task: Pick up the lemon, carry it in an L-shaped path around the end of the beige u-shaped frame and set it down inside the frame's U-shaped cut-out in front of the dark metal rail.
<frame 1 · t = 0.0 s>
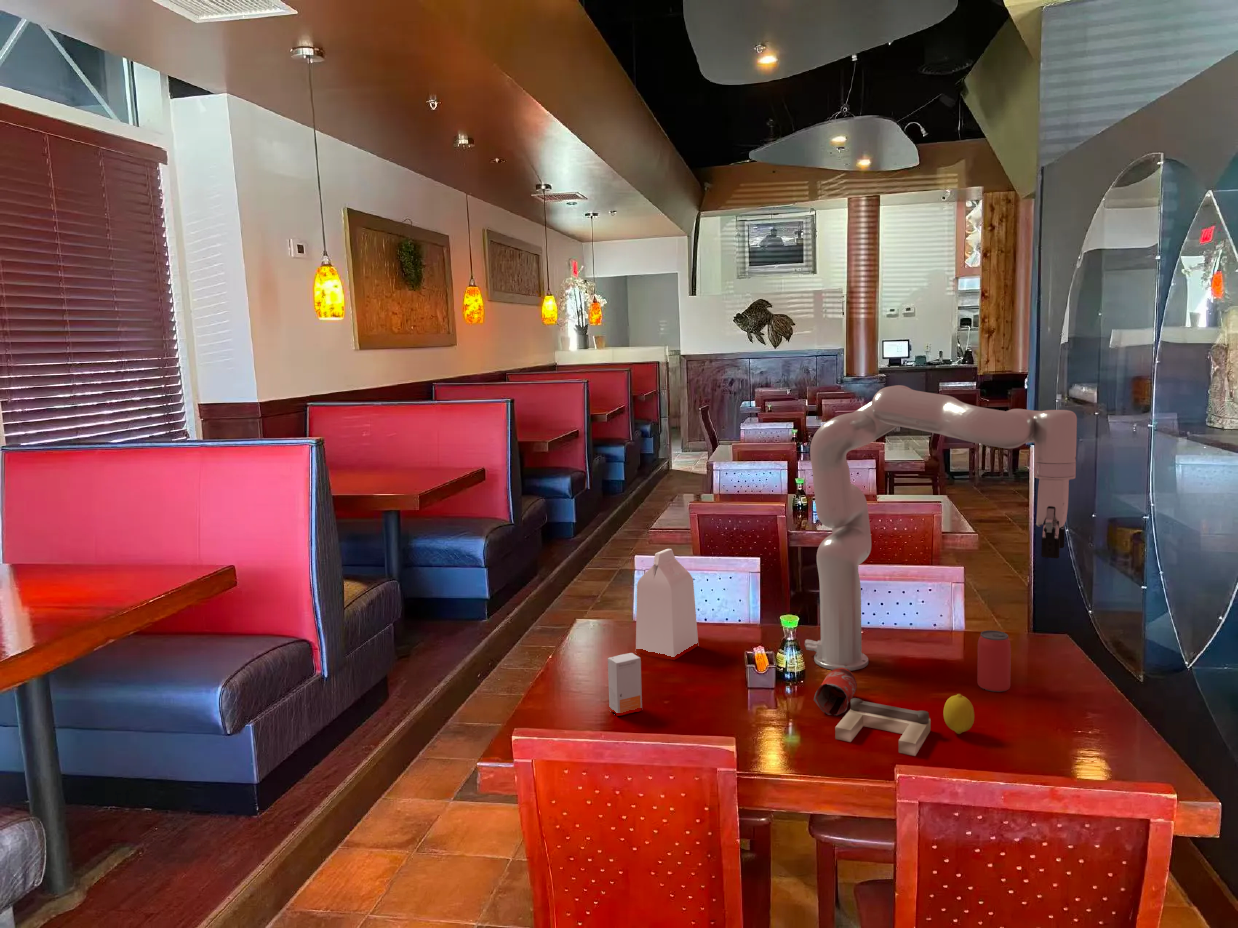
hand: (1052, 552, 172), 31 cm above the table, tool pointing down, fingers open, 9 cm apart
skincare box: (626, 712, 178), on the table
milk: (667, 650, 215), on the table
beige u-shaped frame: (883, 734, 162), on the table
lemon: (958, 734, 161), on the table
beverage can: (837, 705, 177), on the table
beer can: (993, 688, 182), on the table
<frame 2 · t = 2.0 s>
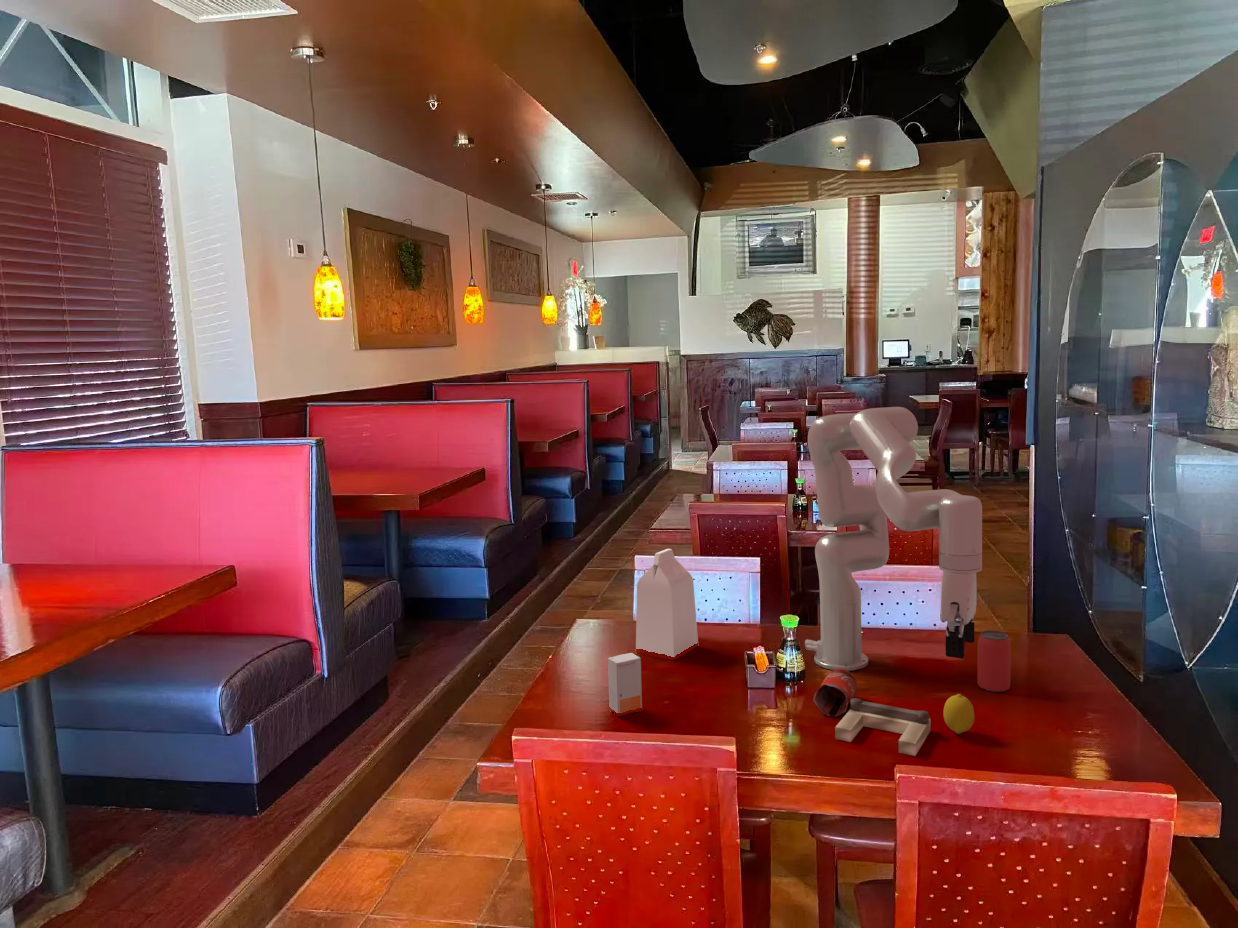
hand: (960, 649, 159), 17 cm above the table, tool pointing down, fingers open, 9 cm apart
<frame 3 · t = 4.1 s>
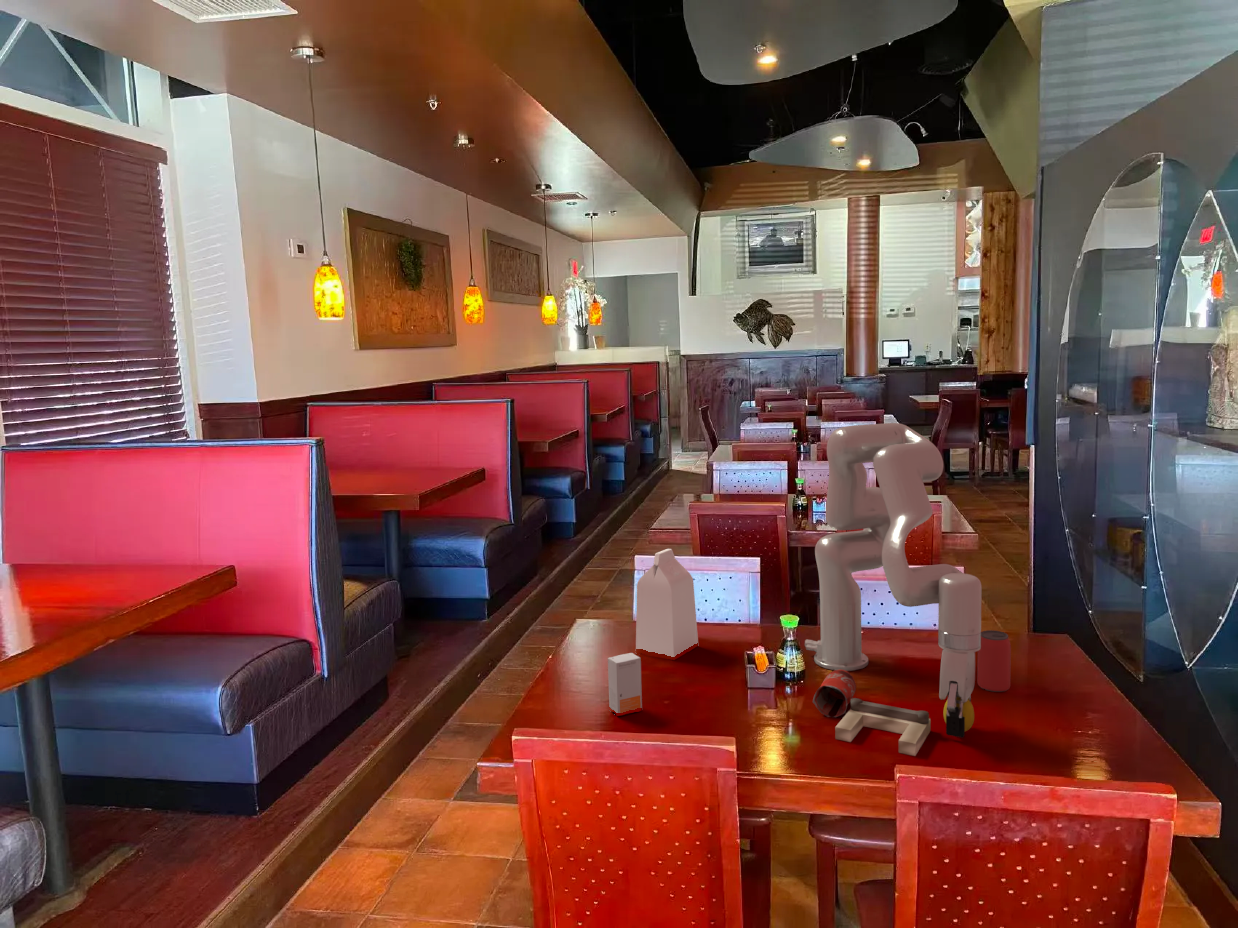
hand: (958, 728, 161), 1 cm above the table, tool pointing down, fingers closed on lemon, 5 cm apart
lemon: (958, 734, 161), on the table, touching gripper
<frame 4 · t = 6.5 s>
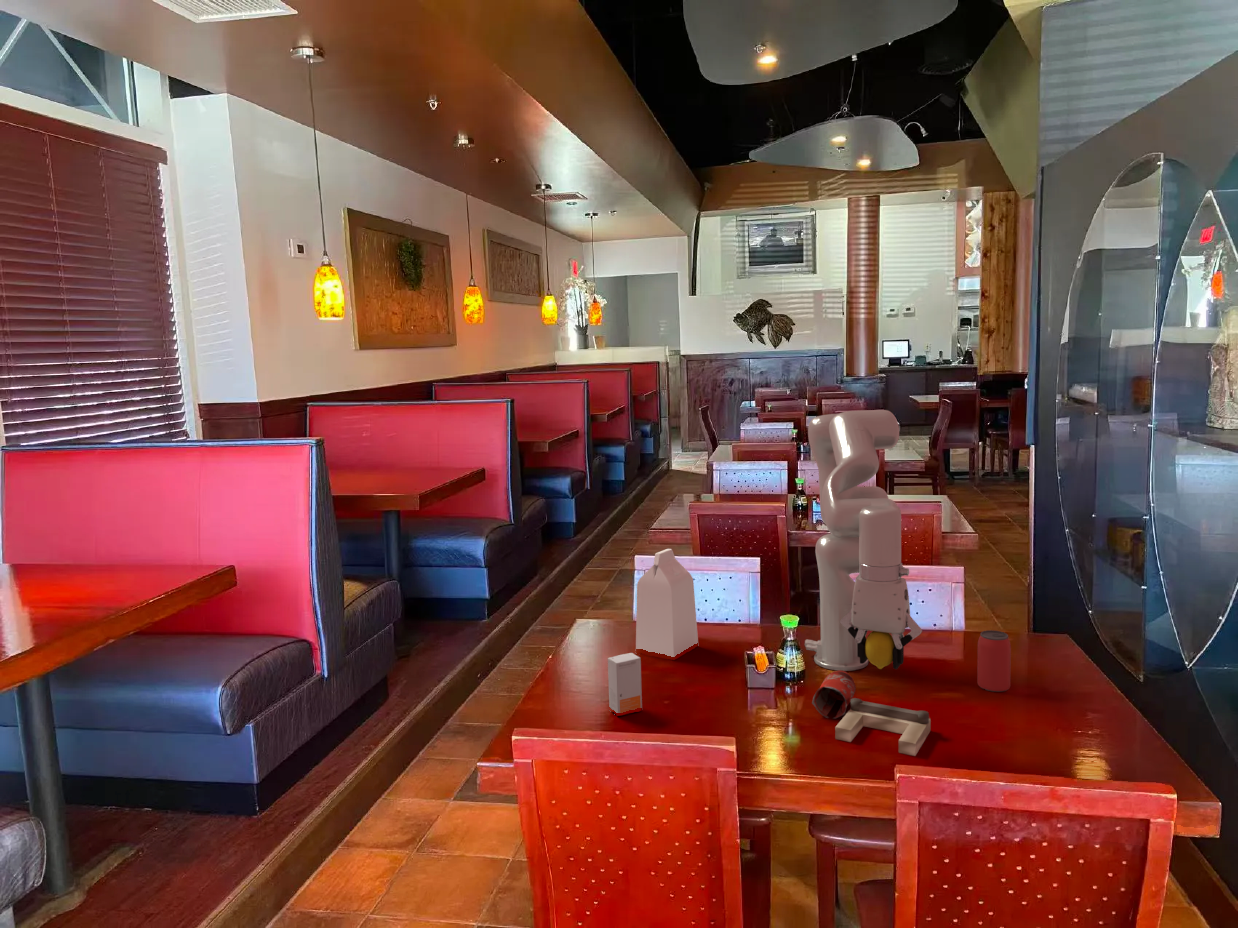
hand: (880, 663, 159), 15 cm above the table, tool pointing down, fingers closed on lemon, 5 cm apart
lemon: (880, 669, 159), point 14 cm above the table, touching gripper
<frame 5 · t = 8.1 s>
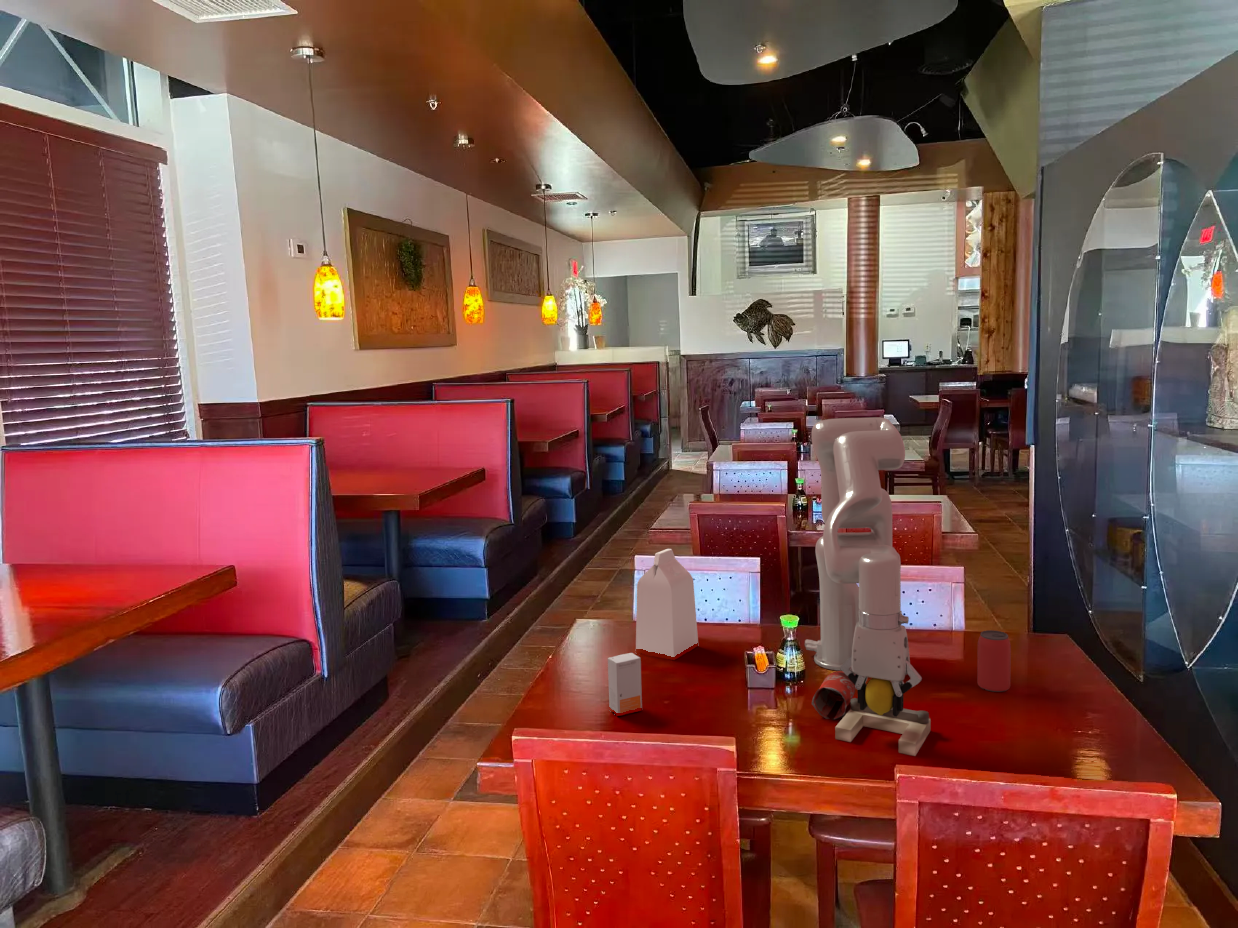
hand: (880, 709, 160), 6 cm above the table, tool pointing down, fingers closed on lemon, 5 cm apart
lemon: (880, 716, 160), point 5 cm above the table, touching gripper
when the fingers open (3 cm above the table, at t = 9.2 s): lemon drops 2 cm, on the table.
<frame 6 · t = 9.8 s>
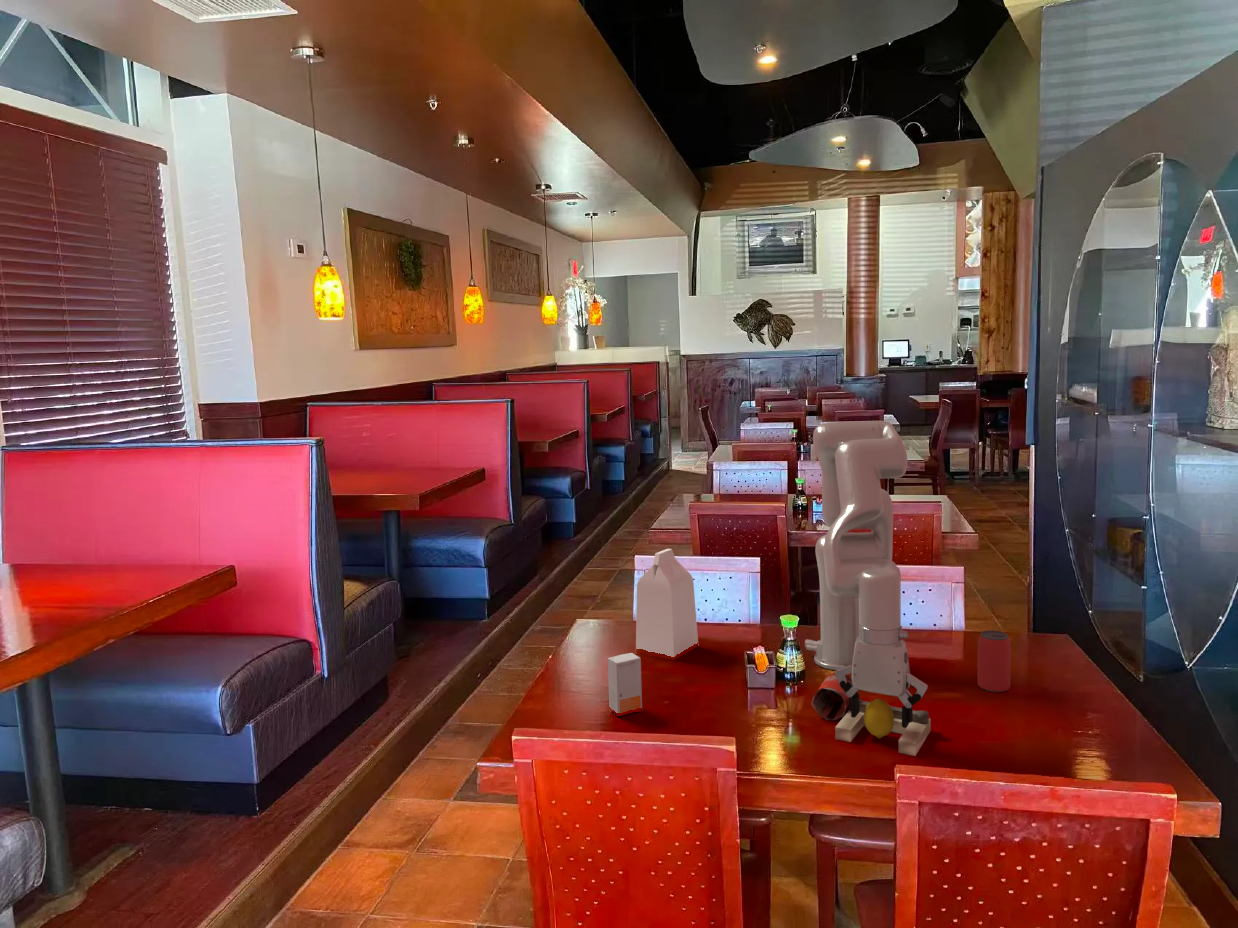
hand: (880, 719, 160), 4 cm above the table, tool pointing down, fingers open, 9 cm apart
lemon: (879, 739, 161), on the table
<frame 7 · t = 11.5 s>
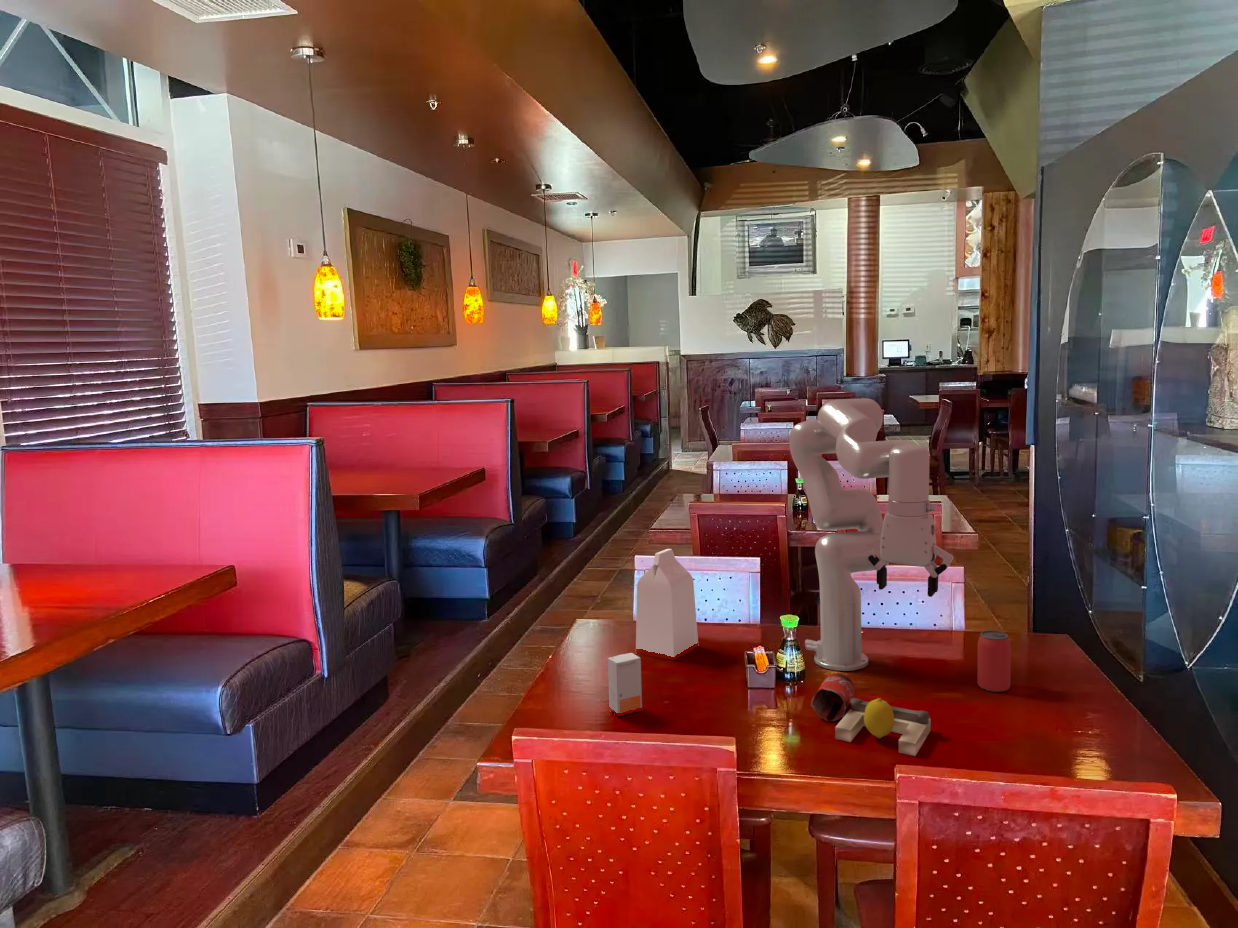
hand: (906, 591, 167), 26 cm above the table, tool pointing down, fingers open, 9 cm apart
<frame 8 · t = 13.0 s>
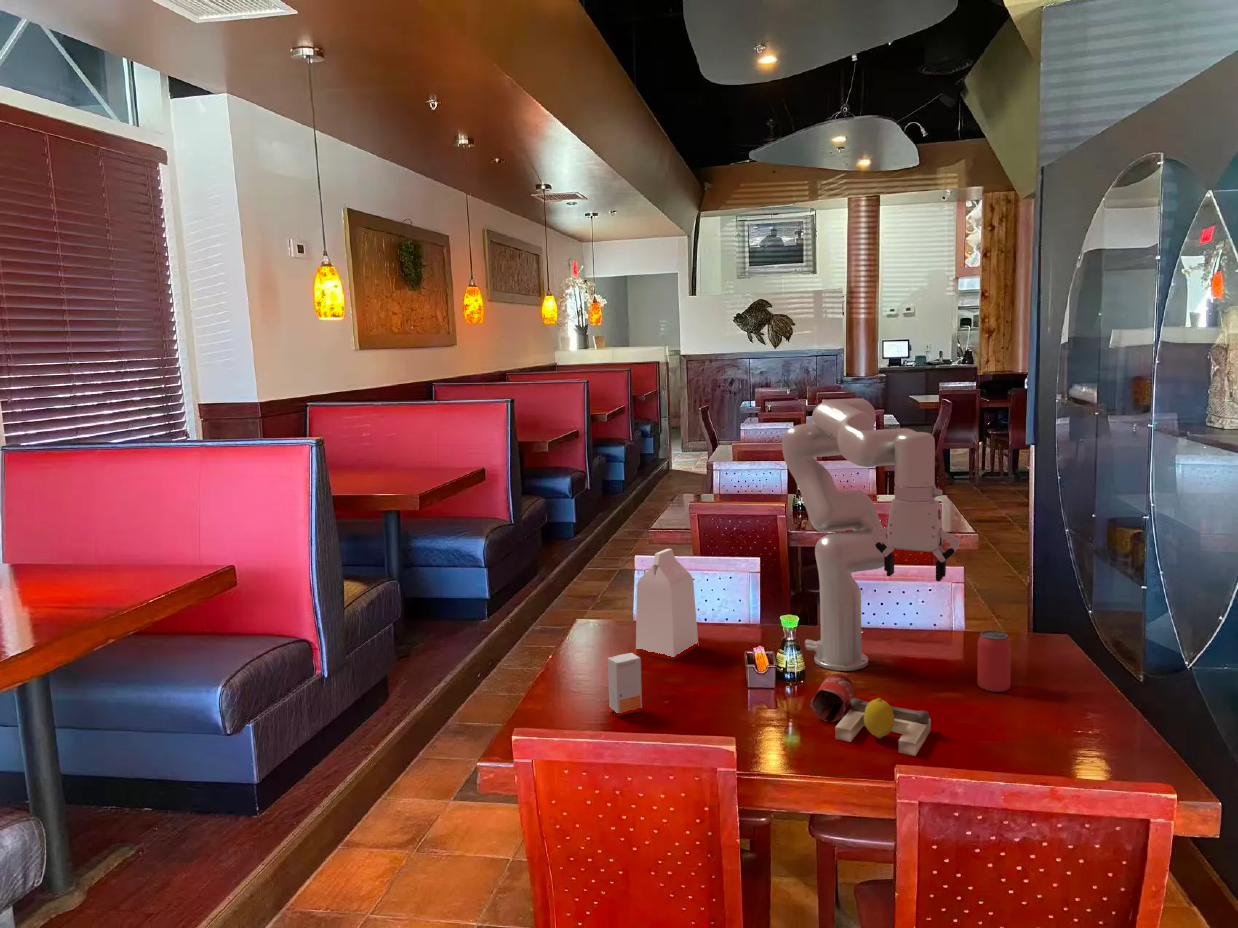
hand: (914, 577, 169), 28 cm above the table, tool pointing down, fingers open, 9 cm apart
at the end: lemon inside the target area on the beige u-shaped frame (0.6 cm from its centre), point 0.0 cm above the beige u-shaped frame's base; the gripper is holding nothing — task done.
